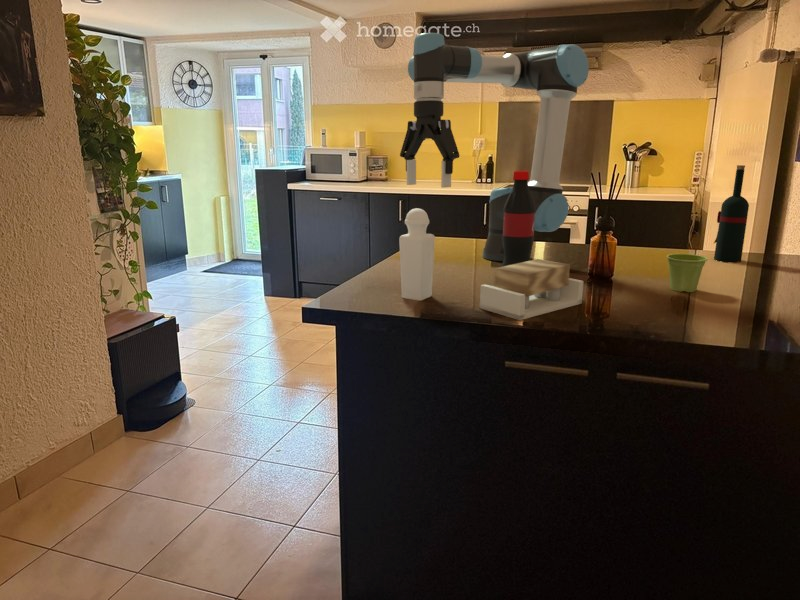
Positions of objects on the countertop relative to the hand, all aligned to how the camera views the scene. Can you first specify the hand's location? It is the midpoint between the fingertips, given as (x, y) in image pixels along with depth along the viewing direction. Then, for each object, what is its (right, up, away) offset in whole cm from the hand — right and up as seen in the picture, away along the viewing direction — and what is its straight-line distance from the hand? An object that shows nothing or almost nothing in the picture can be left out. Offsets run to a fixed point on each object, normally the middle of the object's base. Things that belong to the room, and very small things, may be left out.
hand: (428, 186), depth 153 cm
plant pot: (+66, -27, -1) cm, 72 cm away
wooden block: (+23, -27, -17) cm, 40 cm away
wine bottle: (+98, -17, +37) cm, 107 cm away
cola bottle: (+25, -25, +8) cm, 36 cm away
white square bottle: (-3, -29, -7) cm, 30 cm away
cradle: (+23, -31, -16) cm, 42 cm away
